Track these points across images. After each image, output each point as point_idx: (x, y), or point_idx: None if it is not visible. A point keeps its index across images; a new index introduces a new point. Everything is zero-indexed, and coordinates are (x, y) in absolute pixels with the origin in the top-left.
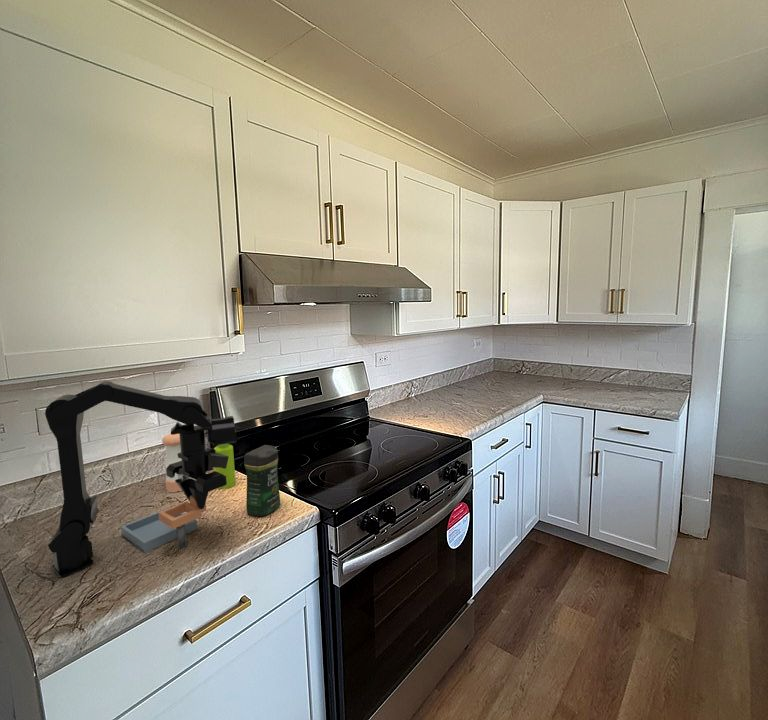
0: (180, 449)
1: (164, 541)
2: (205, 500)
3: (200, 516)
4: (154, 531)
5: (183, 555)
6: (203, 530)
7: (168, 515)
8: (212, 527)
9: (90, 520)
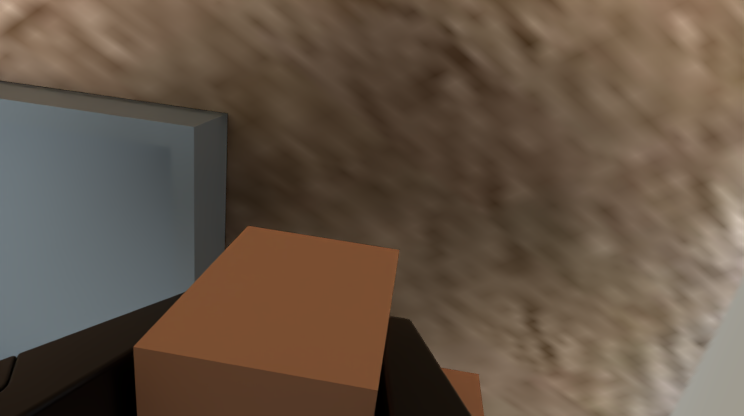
0: None
1: None
2: (449, 394)
3: (475, 385)
4: (36, 289)
5: (446, 366)
6: (287, 105)
7: None
8: (309, 36)
9: None
